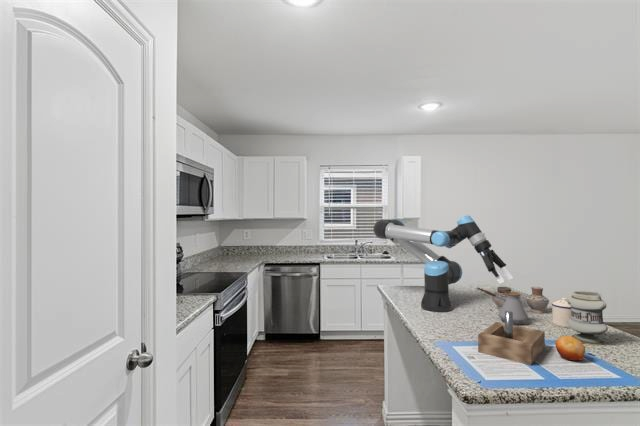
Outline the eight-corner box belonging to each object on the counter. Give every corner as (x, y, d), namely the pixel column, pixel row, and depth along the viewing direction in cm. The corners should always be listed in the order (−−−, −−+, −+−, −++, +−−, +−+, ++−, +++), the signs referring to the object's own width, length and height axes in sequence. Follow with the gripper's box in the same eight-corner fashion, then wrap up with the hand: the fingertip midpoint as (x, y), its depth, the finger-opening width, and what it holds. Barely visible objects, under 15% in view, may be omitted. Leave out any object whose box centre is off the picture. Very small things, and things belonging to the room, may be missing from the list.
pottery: (551, 316, 165) (551, 290, 165) (493, 310, 174) (492, 286, 174) (546, 310, 175) (545, 286, 175) (490, 305, 184) (490, 282, 184)
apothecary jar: (560, 334, 138) (560, 289, 138) (591, 335, 138) (591, 289, 138) (582, 346, 126) (581, 296, 126) (616, 346, 126) (616, 296, 126)
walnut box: (478, 351, 121) (478, 334, 121) (496, 337, 135) (496, 321, 135) (530, 365, 110) (530, 346, 110) (544, 347, 124) (544, 331, 124)
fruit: (577, 349, 119) (581, 332, 116) (585, 369, 113) (590, 352, 109) (550, 346, 122) (553, 330, 118) (556, 365, 116) (560, 349, 112)
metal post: (500, 352, 120) (499, 312, 120) (504, 349, 123) (503, 309, 123) (514, 356, 117) (514, 314, 117) (517, 352, 120) (517, 311, 120)
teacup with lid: (580, 329, 145) (579, 301, 145) (554, 326, 148) (553, 299, 148) (572, 321, 156) (572, 295, 156) (548, 319, 159) (548, 293, 159)
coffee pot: (521, 319, 159) (521, 286, 159) (532, 327, 148) (532, 291, 148) (472, 316, 163) (472, 284, 163) (478, 324, 152) (478, 289, 152)
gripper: (477, 239, 165) (506, 280, 156) (494, 238, 183) (520, 274, 174) (464, 248, 169) (491, 287, 160) (482, 245, 187) (507, 281, 179)
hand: (506, 280), depth 167 cm, fingers open, 13 cm apart
